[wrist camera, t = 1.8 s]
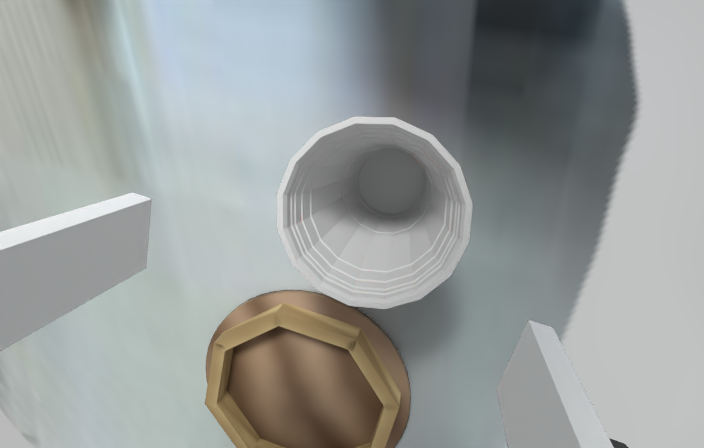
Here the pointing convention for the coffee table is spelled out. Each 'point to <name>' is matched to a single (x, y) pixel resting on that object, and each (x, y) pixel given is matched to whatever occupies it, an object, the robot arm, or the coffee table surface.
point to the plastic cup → (374, 212)
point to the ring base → (305, 375)
